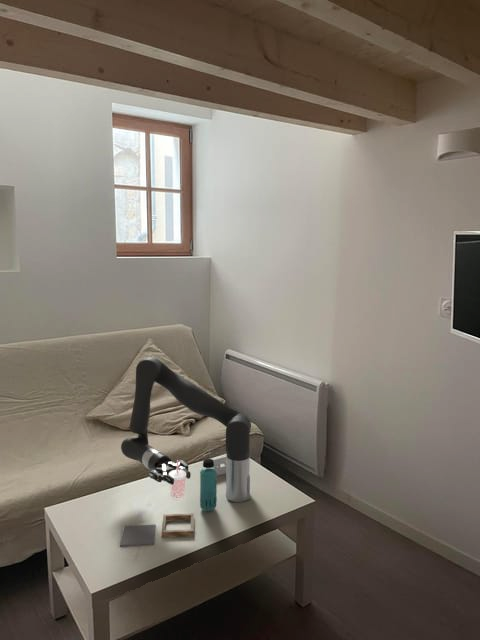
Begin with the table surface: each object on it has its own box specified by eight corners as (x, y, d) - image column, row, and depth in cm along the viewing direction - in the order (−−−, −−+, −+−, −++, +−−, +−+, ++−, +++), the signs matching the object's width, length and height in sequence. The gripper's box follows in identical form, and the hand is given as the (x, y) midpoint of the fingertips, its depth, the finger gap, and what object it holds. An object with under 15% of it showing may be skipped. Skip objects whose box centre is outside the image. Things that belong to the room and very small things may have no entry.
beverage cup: (166, 494, 174) (166, 458, 171) (183, 491, 176) (183, 455, 174) (171, 503, 168) (171, 465, 166) (188, 500, 171) (188, 462, 168)
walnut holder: (193, 518, 180) (193, 513, 180) (193, 536, 169) (193, 531, 169) (163, 519, 179) (163, 514, 179) (161, 537, 168) (161, 532, 168)
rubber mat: (155, 526, 175) (155, 524, 175) (153, 545, 164) (153, 543, 164) (124, 527, 174) (124, 525, 174) (119, 546, 163) (119, 544, 163)
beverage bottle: (203, 516, 182) (204, 465, 178) (196, 507, 187) (196, 458, 184) (219, 512, 185) (220, 462, 181) (212, 503, 190) (212, 455, 187)
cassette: (211, 477, 211) (211, 461, 210) (209, 476, 213) (209, 459, 211) (234, 471, 218) (235, 454, 216) (232, 469, 219) (232, 453, 218)
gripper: (138, 457, 176) (163, 475, 164) (172, 446, 186) (198, 462, 173) (139, 476, 178) (163, 495, 165) (172, 465, 187) (198, 482, 174)
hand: (181, 478), depth 169 cm, fingers closed on beverage cup, 6 cm apart
